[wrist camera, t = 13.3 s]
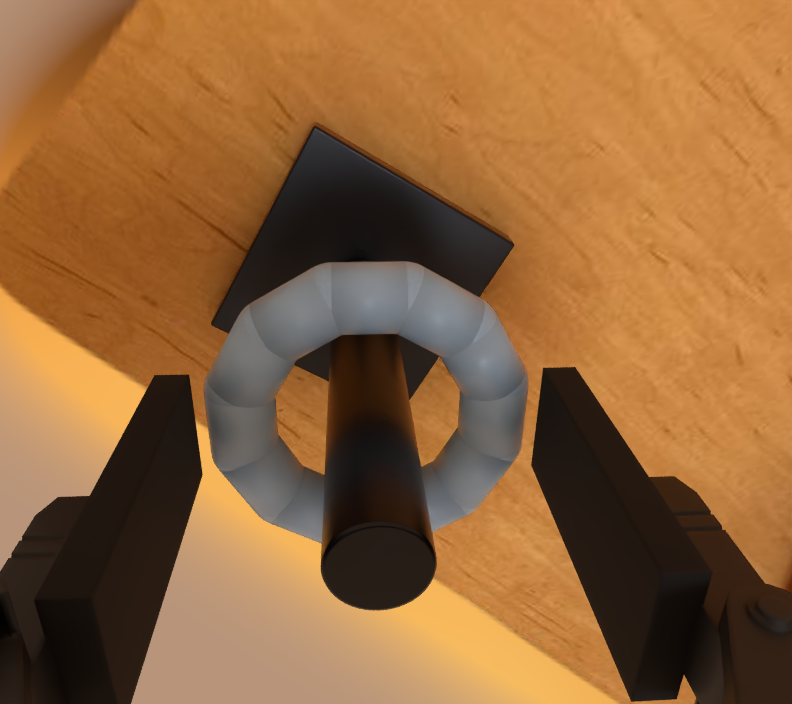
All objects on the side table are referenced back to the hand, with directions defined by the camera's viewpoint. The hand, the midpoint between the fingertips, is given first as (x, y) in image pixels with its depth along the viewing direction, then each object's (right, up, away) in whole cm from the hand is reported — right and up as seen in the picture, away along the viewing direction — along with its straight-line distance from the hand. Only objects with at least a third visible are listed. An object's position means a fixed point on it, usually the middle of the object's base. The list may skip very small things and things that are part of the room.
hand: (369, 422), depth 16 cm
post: (-1, +4, +9) cm, 10 cm away
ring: (0, 0, 0) cm, 0 cm away
